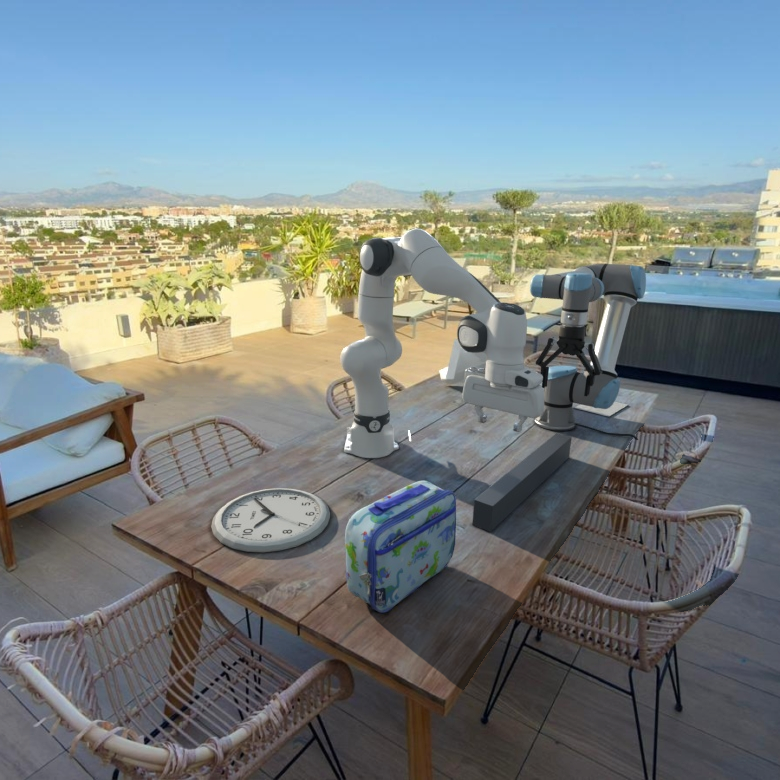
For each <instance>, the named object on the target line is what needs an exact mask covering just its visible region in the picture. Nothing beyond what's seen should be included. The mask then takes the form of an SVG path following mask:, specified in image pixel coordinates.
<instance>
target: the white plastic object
mask: <svg viewBox="0 0 780 780" xmlns="http://www.w3.org/2000/svg"><path fill="white" fill-rule="evenodd" d="M486 357H487V355H486V354H485V353H483V352H480V353H472V352H467V351H465V350H464V349H463V348H462V347H461V346H460V344H459V342H458V338H454V340H453V344H452V349H451V353H450V357H449V362H448V366H446V367H444V368H442V369H440V370H439V371H438V372H439V376H440V381H442V383H443V384H444V385H445V386H449V385H458V384H464V383H465V371H466V370H467V369H468V368H470V367H476V368H483V369H486Z"/></svg>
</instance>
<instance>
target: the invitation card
mask: <svg viewBox="0 0 780 780" xmlns="http://www.w3.org/2000/svg"><path fill="white" fill-rule="evenodd" d="M628 406H629V404H627V403H623V402H618V401H614V403H613V405H612V406H611V407H610V408H608V409H601V408H594V407H591V406H586V405H581V404H578V405H575V406H574V407H573V409H575V410H581V411H584V412H587V413H593V414H596V415H600V416H604V417H608V418H609V417H611V416H613V415H614V414H616V413H617V412H619V411H621V410H623V409H624V408H626V407H628Z"/></svg>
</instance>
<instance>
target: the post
mask: <svg viewBox="0 0 780 780" xmlns="http://www.w3.org/2000/svg"><path fill="white" fill-rule="evenodd" d="M571 444H572V436H569V435H565V434H561V433H558V432H557V433H555V434H554V435H552V436H551V437H550V438H548V439H547V440H546V441H545V442H544V443H542V444H541V445H540V446H539V447H537V448H535V450H534V451H533V452H531V453H530V454H529V455H527V457H525V458H524V459H523V460H521V461H520V462H519V463H518V464H516V465H515V466H514V467H513V468H511V470H509V471H507V472H506V473H505V474H504V475H503V476H502V477H500V478H499V479H498V480H496V481H495V482H494V483H493V484H491V485H490V486H489V487H488V488H487V489H485V490H484V491H483V492H482V493H481V494H479V495H477V497H476V498H474V500H473V511H472V526H474V527H477V528H479V529H482V530H485V531H487V532H493V531H494V530H495V529H496V528H497V526H499V525H500V524H501V523H502V522H503V521H504V520H505V519H506V518H507V517H508V516H509V515H510V514H511V513H512V512H513V511H514V510H516V508H518V507H519V505H521V504H522V502H524V501H525V500H526V499H527V498H528V497H529V496H530V495H531V494H532V493H533V492H535V490H537V488H539V487H540V485H542V484H543V483H544V482H545V481H546V480H547V479H548V478H549V477H550V476H551V475H552V474H553V473H554V472H555V471H556V470H557V469H559V468H560V467H561V465H562V464H563V463H565V462H566V461H567V460H568V459H569V458H570V454H571V453H570V452H571Z"/></svg>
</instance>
